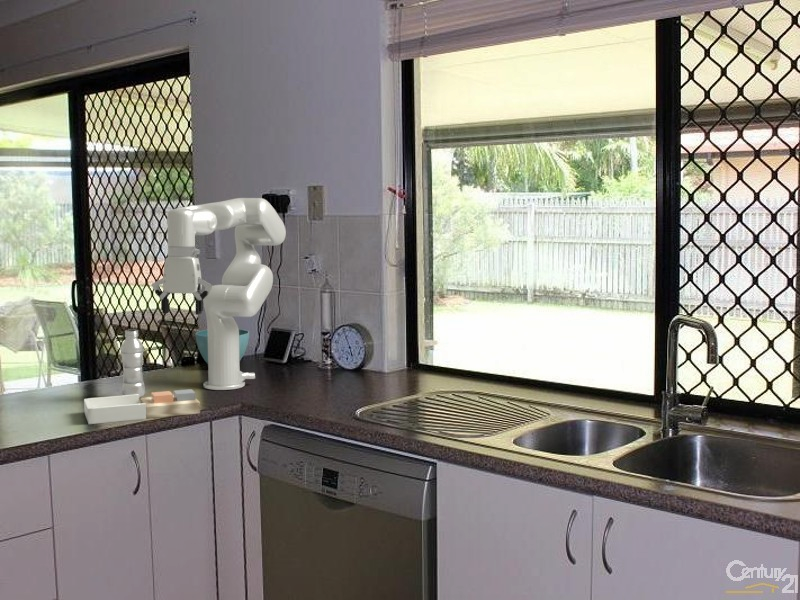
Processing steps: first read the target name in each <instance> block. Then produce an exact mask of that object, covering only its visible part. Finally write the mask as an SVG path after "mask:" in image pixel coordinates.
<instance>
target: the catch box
mask: <svg viewBox="0 0 800 600" xmlns="http://www.w3.org/2000/svg"><path fill="white" fill-rule="evenodd" d="M83 410H84V416H85V419H86V421H87V423H88V425H93V424H94V425H95V424H103V423H104V424H105V423H106V424H107V423H116V422H126V421H135V420H136V421H138V420H145V419H147V417H146V404H145V403H141V404H140V397H139V394H134V395H123V394H122V395H110V396H100V397H88V398H86V397H85V398H83Z"/></svg>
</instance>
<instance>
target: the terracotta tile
mask: <svg viewBox="0 0 800 600" xmlns="http://www.w3.org/2000/svg"><path fill="white" fill-rule="evenodd" d="M150 394H151V395H150V397H151V400H152V401H153V402H154V403H166V402H173V395H174V393H172V392H171V390H164V391H156V392H152V391H151V393H150Z"/></svg>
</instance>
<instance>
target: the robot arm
mask: <svg viewBox="0 0 800 600" xmlns="http://www.w3.org/2000/svg"><path fill="white" fill-rule="evenodd" d="M166 226H167V257H166V258H165V260H164V264H163V265H164V267H163V275H162V278H161V279H158V280H157V281H155V282H153V283H151V287H152V288H153V290H154V293H155V295H157V297H158V298H159V300H160V302H161V303H160V308H161V309H160V310H161V311H162V314H164V315H165V314H169V312H170V299H169V298H168V297H169V296H170V295H171V294H193V296H194V297H195V298H196V300H195V314H196V315H201V314H203V313H202V312H204V310H205V317H206V324H207V325H206V326H207V327H206V328H207V329H206V330H208V364H207V367H208V370H207V373H208V380H206V381H205V382H203V388H204V389H207V390H214V391H227V390H228V391H229V390H236V389H237V390H238V389H241V388H243V387H245V385H246V382H245V380H255V379H256V373H255V372H247V371H246V372H243V371H241V370H240V362H239V329H240V328H239V326H238V324H237V322H236V320H235V318H234V317H236V318H237V317H239V318H252V317H254V316H255V315H257V313H258V312H259V310H260V309H261V308H262V305H263V304H264V302H265V300H267V297H268V295H269V294H270V292H271V290H272V288H273V283H274V274H273V271H272V270H271V268H270V267H269V266H267V265H265V264H262V259H261V257H260V254H259V253H258V251H257V250H256V249H255V246H279V245H281V244H282V243H283V242H284V241H285V239H286V235H287V231H286V226H285V223H284V222H283V220H282V219H281V217H280V216H279V214H278V212H277V210H276V209H275V208H274V207H273V206H272V205H271V203H270V202H269V201H268V200H267V199H265V198H262V197H238V198H231V199H228V200H223V201H222V200H221V201H217V202H210V203H209V202H208V203H202V204H195V205H190V206H189V205H188V206H182V207H178V208H174V209H173V208H172V209H170V210H169V211H168V212H167V219H166ZM234 227H235V228H234ZM231 228H234V242H235V247H236V248H235V249H236V252H235V255H234V258H233V259H232V260H231V262H230V264H229V265H228V267H227V268H226V270H225V271H224V273H223V275H222V277H221V284H215V285H213V284H212V283H209V282H208V281H206V280H204V279H202V272H201V265H200V259H199V257H196V256H197V255H200V254H201V249H198V248H197V247H196V236H207V235H210V234H212V233H214V232H215V231H221V230H222V231H224V230H228V229H231ZM161 285H162V290H163V291H162V290H161V289H160V286H161ZM203 287H204V291H203V292H202V290H203V289H202V288H203Z"/></svg>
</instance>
